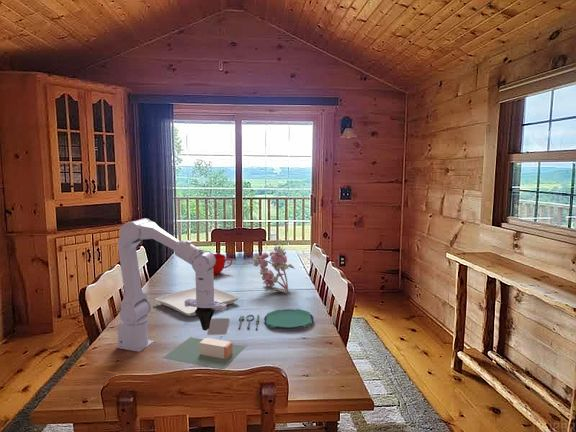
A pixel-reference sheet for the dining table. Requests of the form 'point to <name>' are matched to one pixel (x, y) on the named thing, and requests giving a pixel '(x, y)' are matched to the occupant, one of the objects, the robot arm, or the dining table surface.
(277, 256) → the flower
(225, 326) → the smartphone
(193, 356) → the green mat
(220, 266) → the ceramic cup
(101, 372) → the dining table surface
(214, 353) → the cream block
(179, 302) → the square plate
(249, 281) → the dining table surface
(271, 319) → the cutlery set
